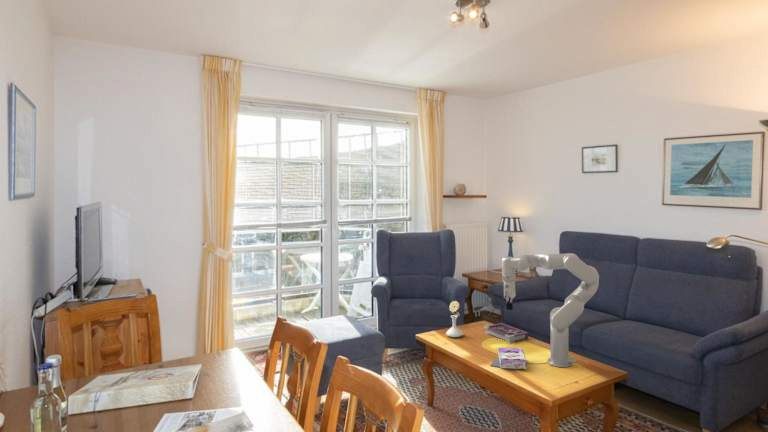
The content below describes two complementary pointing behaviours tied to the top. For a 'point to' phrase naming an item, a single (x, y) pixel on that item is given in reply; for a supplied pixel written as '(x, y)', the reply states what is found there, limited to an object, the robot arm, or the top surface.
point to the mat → (497, 363)
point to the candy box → (512, 358)
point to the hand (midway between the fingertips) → (509, 309)
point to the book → (506, 332)
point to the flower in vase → (454, 321)
